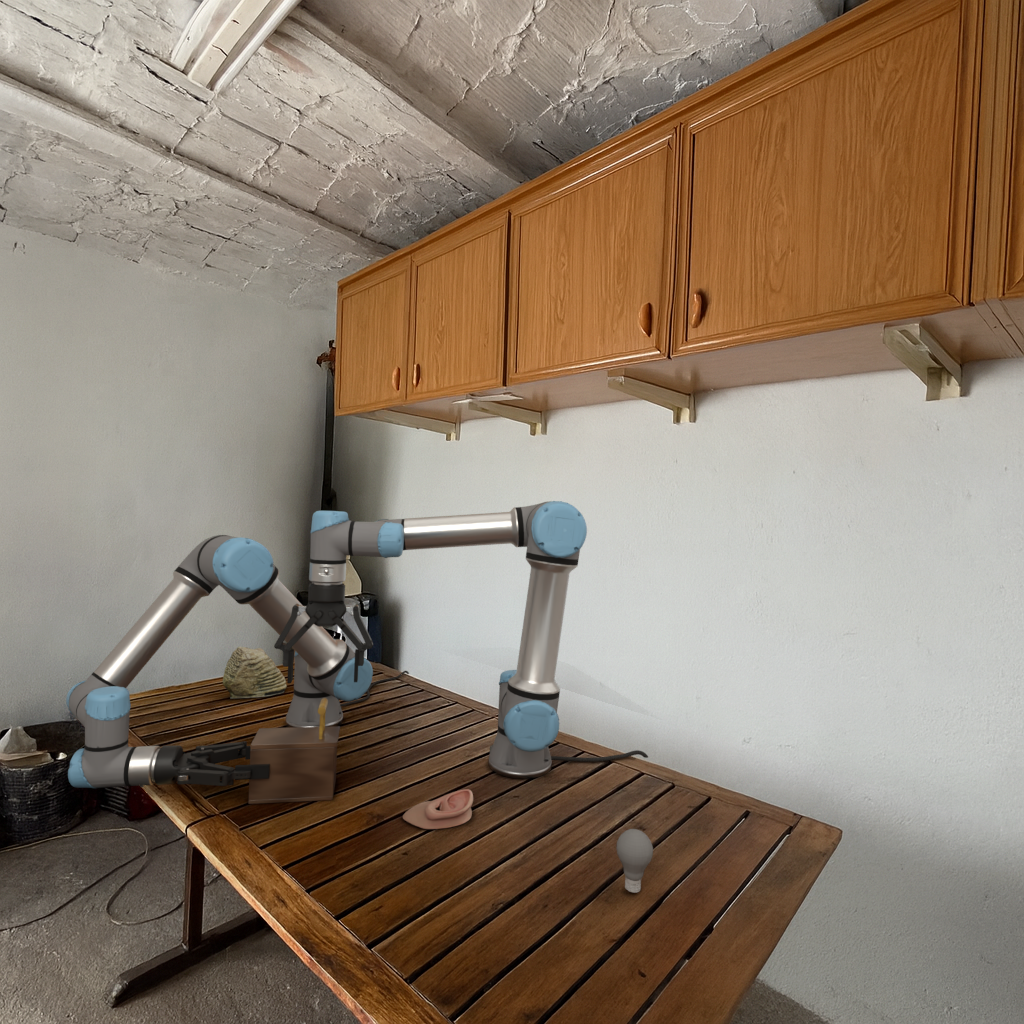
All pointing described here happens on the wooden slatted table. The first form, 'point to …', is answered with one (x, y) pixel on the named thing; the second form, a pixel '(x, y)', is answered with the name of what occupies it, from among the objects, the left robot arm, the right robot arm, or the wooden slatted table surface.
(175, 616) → the left robot arm
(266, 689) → the fossil
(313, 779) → the chest
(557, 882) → the wooden slatted table surface
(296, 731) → the lid
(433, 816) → the anatomical model
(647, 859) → the light bulb
